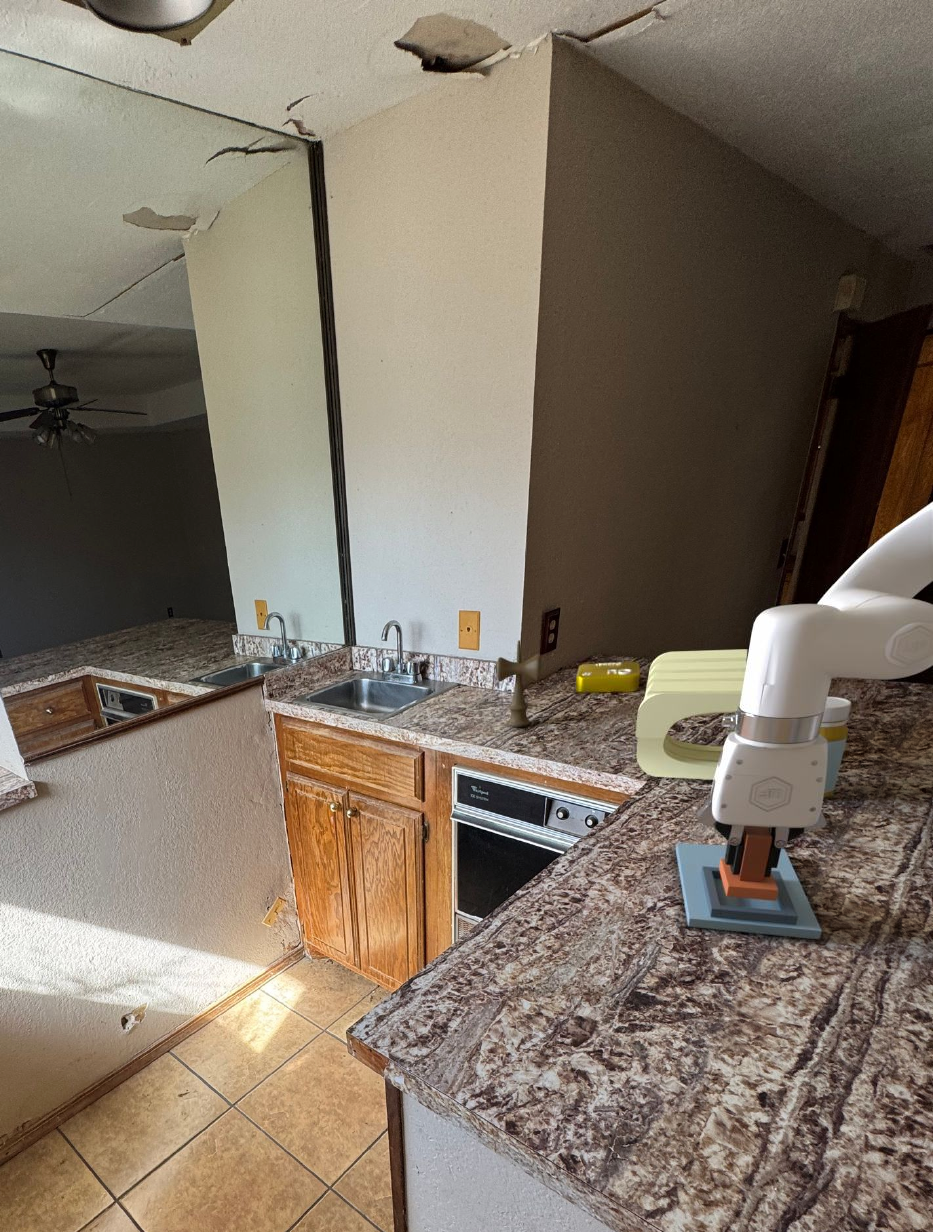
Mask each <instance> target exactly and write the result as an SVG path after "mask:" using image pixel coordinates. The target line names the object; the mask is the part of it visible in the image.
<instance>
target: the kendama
mask: <svg viewBox="0 0 933 1232" xmlns="http://www.w3.org/2000/svg"><path fill="white" fill-rule="evenodd" d="M521 646H522V645H521V640H520V639H518V640H517V645H516V661H511V660H508V659H506V658H504V657H501V656H500V657H498V658H497V662H496V677H497V681H498V682H503V681H505V680H506V679H508V678H509V677H513V676H515V678H514V679H515V680H514V688H513V695H512V700H511V702H510V703H509V705H508V709H509V711H510V718H509V719H508V720H507V721H506V724H507V726H508V727H511V728H522V727H526V726H529V724H531V723H530V719H529V718H528V716H527V710H528V708H529V707H530V706H529V703H527V702H526V699H525V694H524V685H523V675H525V676H528V677H529V678H531V679H532V680H535V681H540V679H541V675H542V657H541V654H540V653H536V654H535V655H533V656H532V657H530V658H529V659H527V660H525V661H522V647H521Z"/></svg>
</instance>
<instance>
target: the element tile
mask: <svg viewBox="0 0 933 1232" xmlns="http://www.w3.org/2000/svg"><path fill="white" fill-rule="evenodd" d="M640 671H641V669H640V663H639V662H637V661H624V662H599V663H582V664H581V665H578V669H577V673H576V675H575V692H576V693H579V694H599V693H600V694H603V693H604V694H605V693H632V692H636V691H638V690H639V688H640V676H641V675H640V674H641V673H640Z"/></svg>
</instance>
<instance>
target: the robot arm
mask: <svg viewBox="0 0 933 1232" xmlns="http://www.w3.org/2000/svg"><path fill="white" fill-rule="evenodd" d="M932 582H933V501H932V502H930V503H929V504H927V505H926V506H925V507H923V508H922V509H920V510H919V511H918V512H916V513H915V514H913V515H912V516H910V517H909V518H907V519H906V520H904V521H903V522H902V523H900V524H898V525H897V526H896V527H894V528H893V529H891V530H890V531H889V532H888V533H886V534H885V535H884V536H882V537H881V538H879V540H877V541H876V542H875V543H874V544H873V545H871V546H870V547H869V548H868V549H867V550H866V551H865V552H864V553H862V554H861V556H859V557H858V559H856V560H855V561H854V562H853V563H852V564H851V566H850V567H849V568H848V569H847V570H846V571H844V573H843V574H842V575H841V576H840V577H839V578H838V579H837V581H835V583H834V584H832V585H831V587H830V588H829V589H828V590H827V591H826V592H825V594H823V596H822V597H821V598H820V600H819V601H818V602H817V603H798V604H786V605H785V604H784V605H778V606H774V607H770V608H768V609H765V610H763V611H762V612H761V613H760V614H759V615H757V617H756V618H755V621H754V622H753V626H752V630H751V636H750V641H749V648H748V652H747V659H746V661H747V664H746V671H745V677H744V683H743V689H742V695H741V702H740V707H738V710H737V711H735V713H730V714H723V715H722V717H721V727H722V728H729V729H733V731H730V733H728V734H727V737H726V739H725V741H724V744H723V746H722V747H723V749H722V752H721V755H720V758H719V762H718V765H717V769H716V772H715V776H714V780H712V784H711V790H710V794H709V797H708V798H707V799H706V801H704V803H703V805H702V806H701V808H700V809H699V810H698V811H697V812H696V815H695V816H696V820H697V822H698V823H701V825H705V826H707V827H710V828H713V829H715V830H716V831H717V832H718V833H719V834H720V835H721V836H723V838H724V839H726V840H727V844H726V846H727V848H726V854H725V864H726V865H730V868H731V871H732V875H738V874H740V868H741V863H742V858H743V853H744V845H743V839H742V835H743V830H744V826H763V827H770V828H769V832H770V834H771V836H772V842H771V847H770V851H769V856H768V861H767V866H766V870H765V875H764V877H770V875H771V870H772V868H777V866H778V861H779V857H780V852H781V849H785V847H786V846H787V844H788V843H789V842H791V841H793V840H795V839H796V838H798V837H800V836H801V835H803V834H804V833H809V832H813V831H817V830H820V829H824V828H826V826H827V824H828V823H827V820H826V817H825V815H824V813H823V810H822V809H823V808H822V807H823V802H824V798H823V796H824V789H825V781H826V773H827V759H828V745H827V739H826V738H824V737H823V736H822V735H820V734H819V732H820V728H821V723H822V719H823V714H824V709H825V705H826V701H827V697H829V691H830V688H831V683H832V679H834V678H845V679H848V678H849V679H864V680H896V679H902V678H906V677H910V676H913V675H917V674H919V673H922V672H924V671H926V670H927V669H929V668H931V667H932V666H933V604H932V603H931V602H927V601H923V600H920V599H915V598H914V597H915V596H916V595H917V594H918V593H920V592H921V591H922V590H924V588H925V587H927V586H928V585H930V584H931V583H932Z"/></svg>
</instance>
